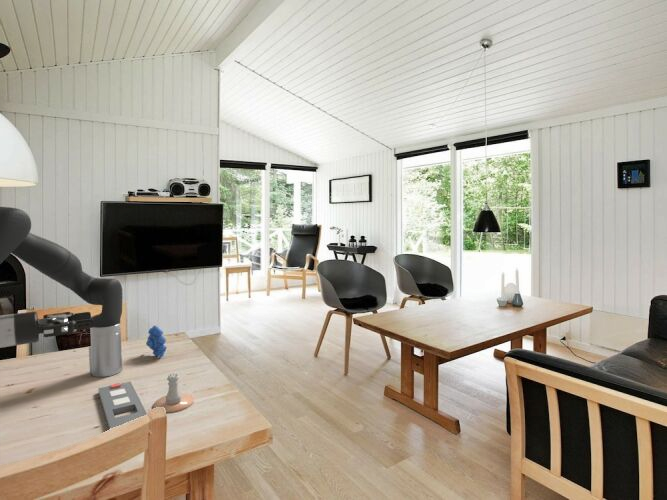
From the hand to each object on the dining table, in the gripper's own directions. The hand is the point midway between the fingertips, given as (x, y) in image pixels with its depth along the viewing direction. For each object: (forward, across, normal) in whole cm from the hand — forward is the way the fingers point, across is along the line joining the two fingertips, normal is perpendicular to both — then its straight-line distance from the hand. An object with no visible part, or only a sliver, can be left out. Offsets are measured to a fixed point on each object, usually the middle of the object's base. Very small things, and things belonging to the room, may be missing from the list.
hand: (92, 319), depth 105 cm
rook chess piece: (+19, -3, +27) cm, 33 cm away
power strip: (+6, +4, +28) cm, 29 cm away
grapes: (+24, +43, +29) cm, 57 cm away
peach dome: (+19, -3, +28) cm, 34 cm away
